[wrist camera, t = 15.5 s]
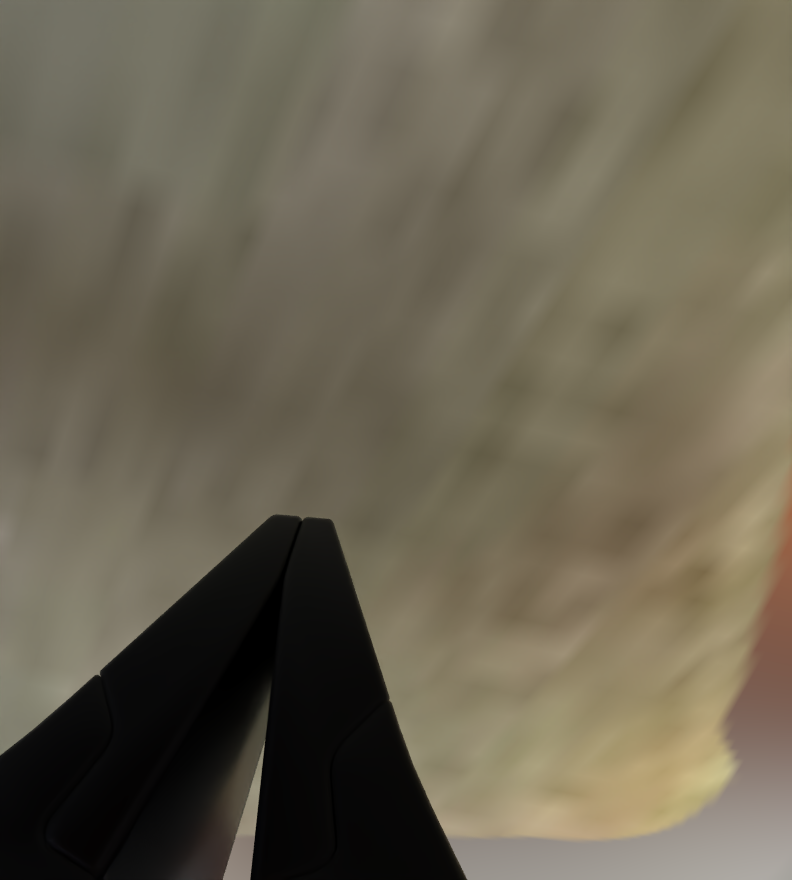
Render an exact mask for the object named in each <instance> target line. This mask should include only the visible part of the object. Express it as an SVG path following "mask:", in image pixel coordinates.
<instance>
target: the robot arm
mask: <svg viewBox="0 0 792 880" xmlns="http://www.w3.org/2000/svg"><path fill="white" fill-rule="evenodd" d="M100 676H101V677H100ZM100 676H99V675H95V676H94V677H93V678H91V679H90V680H89V681H88V682H87V683H86V684H85V685H84V686H83V687H81V688H80V689H79V690H78V691H77V692H76V693H75V694H74V695H73V696H72V697H70V698H69V699H68V700H67V701H66V702H65V703H63V704H62V705H61V706H60V707H59V708H58V709H56V710H55V711H54V712H53V713H52V714H51V715H50V716H48V717H47V718H46V719H45V720H44V721H43V722H41V723H40V724H39V725H38V726H37V727H36V728H34V729H33V730H32V731H31V732H29V733H28V734H27V735H26V736H24V737H23V738H22V739H21V740H19V741H18V742H17V743H16V744H14V745H13V746H12V747H10V748H9V749H8V750H7V751H5V752H4V753H3V754H2V755H0V880H223V876H224V873H225V870H226V866H227V863H228V860H229V856H230V853H231V850H232V846H233V843H234V840H235V837H236V834H237V830H238V827H239V824H240V820H241V817H242V814H243V811H244V807H245V804H246V801H247V797H248V794H249V791H250V788H251V784H252V781H253V778H254V774H255V771H256V768H257V765H258V761H259V758H260V755H261V751H262V748H263V745H264V741H265V748H264V757H263V766H262V776H261V785H260V794H259V804H258V813H257V823H256V832H255V842H254V852H253V860H252V869H251V879H250V880H467V879H466V877H465V875H464V873H463V870H462V868H461V866H460V864H459V862H458V860H457V858H456V856H455V854H454V852H453V850H452V848H451V846H450V843H449V841H448V839H447V837H446V835H445V833H444V831H443V829H442V827H441V825H440V823H439V821H438V819H437V817H436V815H435V812H434V810H433V808H432V806H431V804H430V802H429V799H428V797H427V795H426V793H425V790H424V788H423V786H422V784H421V781H420V779H419V777H418V775H417V772H416V770H415V768H414V766H413V763H412V760H411V757H410V755H409V752H408V749H407V746H406V744H405V741H404V738H403V735H402V733H401V730H400V727H399V724H398V721H397V718H396V715H395V712H394V709H393V705H392V703H391V702H390V701H389V699H390V698H389V694H388V691H387V688H386V685H385V682H384V678H383V675H382V672H381V669H380V666H379V663H378V660H377V657H376V654H375V650H374V647H373V644H372V641H371V638H370V635H369V632H368V629H367V626H366V622H365V619H364V616H363V613H362V610H361V607H360V604H359V601H358V598H357V594H356V591H355V588H354V585H353V582H352V579H351V576H350V573H349V569H348V566H347V563H346V560H345V557H344V554H343V551H342V548H341V545H340V541H339V538H338V535H337V532H336V529H335V526H334V523H333V521H332V520H330V519H325V518H313V517H306V518H304V519H303V521H302V519H301V518H300V517H299V516H290V515H279V514H276V515H273V516H271V517H269V518H268V519H267V520H266V521H265V522H264V523H263V524H262V525H261V526H260V527H258V528H257V529H256V530H255V531H254V532H253V533H252V534H251V535H250V536H249V537H247V538H246V539H245V540H244V541H243V542H242V543H241V544H240V545H239V546H237V547H236V548H235V549H234V550H233V551H232V552H231V553H230V554H229V555H228V556H226V557H225V558H224V559H223V560H222V561H221V562H220V563H219V564H218V565H217V566H215V567H214V568H213V569H212V570H211V571H210V572H209V573H208V574H207V575H205V576H204V577H203V578H202V579H201V580H200V581H199V582H198V583H197V584H196V585H194V586H193V587H192V588H191V589H190V590H189V591H188V592H187V593H186V594H184V595H183V596H182V597H181V598H180V599H179V600H178V601H177V602H176V603H175V604H173V605H172V606H171V607H170V608H169V609H168V610H167V611H166V612H165V613H164V614H162V615H161V616H160V617H159V618H158V619H157V620H156V621H155V622H154V623H152V624H151V625H150V626H149V627H148V628H147V629H146V630H145V631H144V632H143V633H141V634H140V635H139V636H138V637H137V638H136V639H135V640H134V641H133V642H132V643H130V644H129V645H128V646H127V647H126V648H125V649H124V650H123V651H122V652H120V653H119V654H118V655H117V656H116V657H115V658H114V659H113V660H112V661H111V662H109V663H108V664H107V665H106V666H105V667H104V668H103V669H102V670H101V671H100Z"/></svg>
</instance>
